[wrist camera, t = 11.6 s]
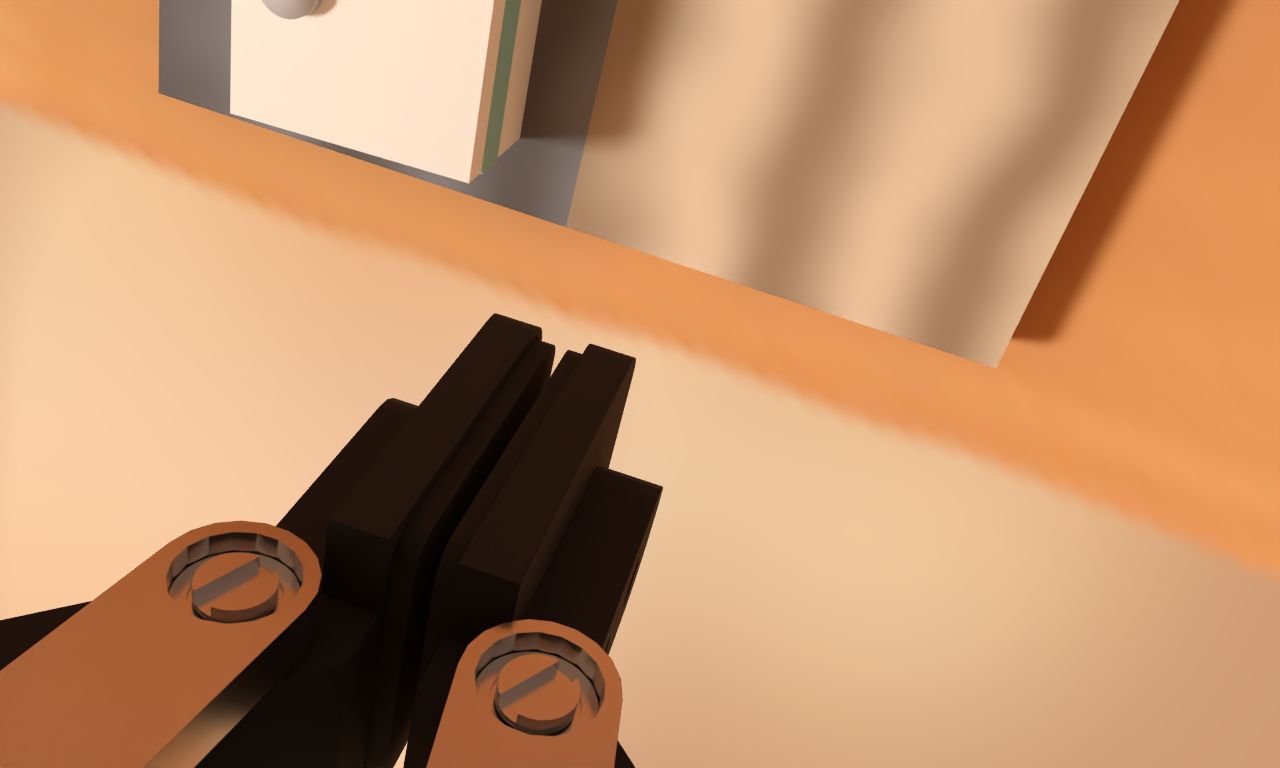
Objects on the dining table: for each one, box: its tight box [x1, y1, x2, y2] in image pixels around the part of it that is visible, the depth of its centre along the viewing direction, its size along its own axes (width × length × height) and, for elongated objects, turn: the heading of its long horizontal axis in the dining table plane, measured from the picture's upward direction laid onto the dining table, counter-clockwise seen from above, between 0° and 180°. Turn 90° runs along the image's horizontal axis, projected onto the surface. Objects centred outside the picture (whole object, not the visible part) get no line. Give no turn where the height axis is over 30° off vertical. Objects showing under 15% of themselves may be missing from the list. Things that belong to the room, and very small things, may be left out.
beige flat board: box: [159, 0, 1179, 368], centre depth 36 cm, size 32×15×2 cm, turn 76°
